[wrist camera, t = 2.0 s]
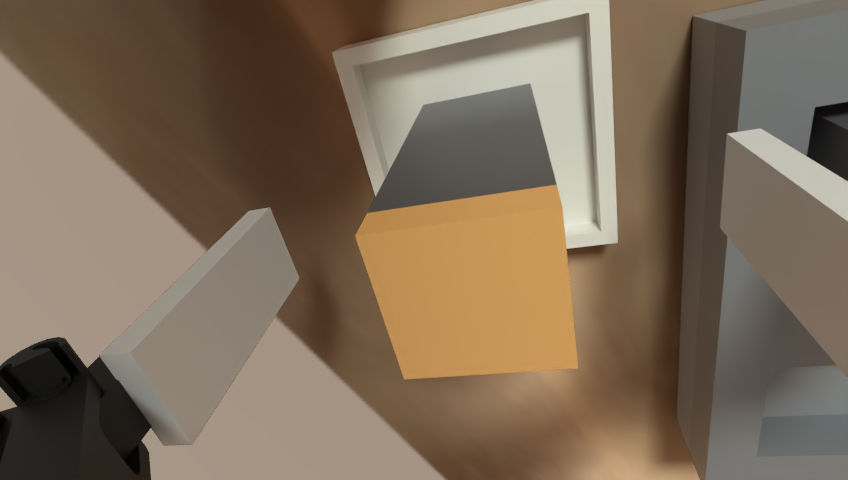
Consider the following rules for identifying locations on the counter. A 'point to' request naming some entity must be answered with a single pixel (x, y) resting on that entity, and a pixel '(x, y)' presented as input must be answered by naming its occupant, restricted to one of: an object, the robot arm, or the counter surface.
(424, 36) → the tray
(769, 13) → the grey socket block
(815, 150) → the twin plug
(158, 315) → the robot arm
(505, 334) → the plug
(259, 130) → the counter surface
